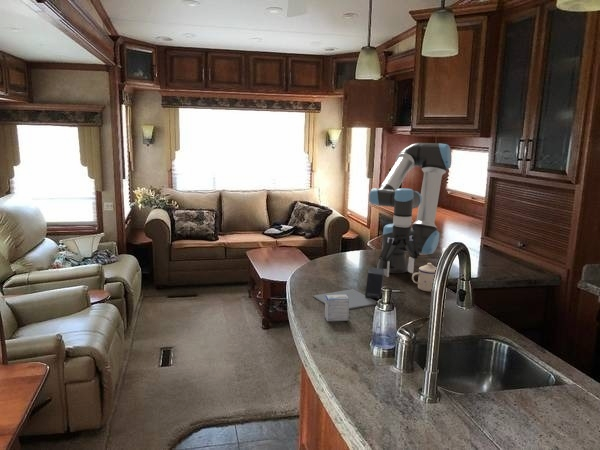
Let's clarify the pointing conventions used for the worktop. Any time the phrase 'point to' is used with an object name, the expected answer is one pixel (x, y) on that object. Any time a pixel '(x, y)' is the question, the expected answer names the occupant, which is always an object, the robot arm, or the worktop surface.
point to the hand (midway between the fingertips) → (398, 274)
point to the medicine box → (336, 307)
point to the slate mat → (350, 298)
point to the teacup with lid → (425, 277)
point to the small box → (374, 283)
